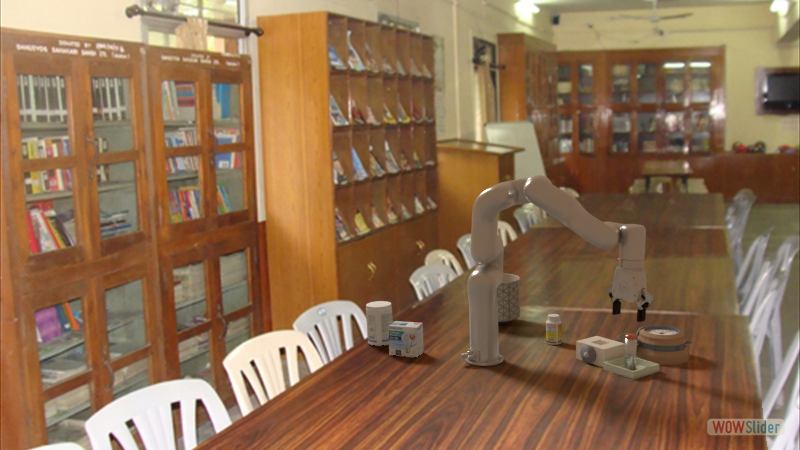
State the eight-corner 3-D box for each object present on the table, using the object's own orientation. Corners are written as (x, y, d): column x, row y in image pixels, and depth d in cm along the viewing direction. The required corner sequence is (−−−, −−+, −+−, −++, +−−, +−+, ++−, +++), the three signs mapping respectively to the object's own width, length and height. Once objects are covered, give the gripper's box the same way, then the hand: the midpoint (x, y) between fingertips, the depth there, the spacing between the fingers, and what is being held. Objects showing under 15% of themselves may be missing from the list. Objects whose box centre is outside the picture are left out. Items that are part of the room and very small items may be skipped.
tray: (633, 379, 238) (633, 372, 238) (603, 370, 248) (603, 362, 247) (658, 371, 244) (659, 364, 244) (628, 362, 254) (628, 355, 254)
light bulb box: (388, 355, 270) (387, 325, 269) (395, 350, 276) (394, 320, 275) (417, 358, 266) (417, 327, 265) (424, 352, 273) (423, 322, 271)
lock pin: (631, 371, 244) (631, 337, 242) (621, 368, 247) (622, 334, 245) (638, 369, 246) (639, 335, 244) (629, 366, 249) (630, 332, 247)
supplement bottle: (559, 340, 281) (559, 312, 280) (563, 344, 276) (563, 316, 274) (544, 341, 281) (543, 313, 279) (548, 345, 275) (548, 317, 274)
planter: (497, 332, 294) (497, 285, 292) (461, 323, 309) (460, 278, 306) (530, 322, 307) (529, 277, 304) (494, 314, 321) (493, 271, 318)
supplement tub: (393, 338, 290) (392, 300, 288) (394, 346, 281) (392, 306, 279) (367, 339, 290) (365, 301, 288) (367, 347, 281) (365, 307, 279)
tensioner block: (599, 368, 249) (600, 350, 248) (572, 359, 259) (572, 342, 258) (624, 361, 256) (625, 343, 255) (597, 352, 266) (597, 335, 265)
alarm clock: (680, 340, 246) (609, 330, 259) (680, 368, 247) (609, 357, 261) (695, 327, 260) (627, 318, 273) (695, 354, 261) (627, 344, 274)
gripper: (601, 260, 246) (599, 313, 249) (646, 270, 232) (642, 326, 235) (617, 258, 251) (615, 310, 253) (662, 267, 236) (659, 322, 239)
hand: (628, 317), depth 244 cm, fingers open, 9 cm apart
